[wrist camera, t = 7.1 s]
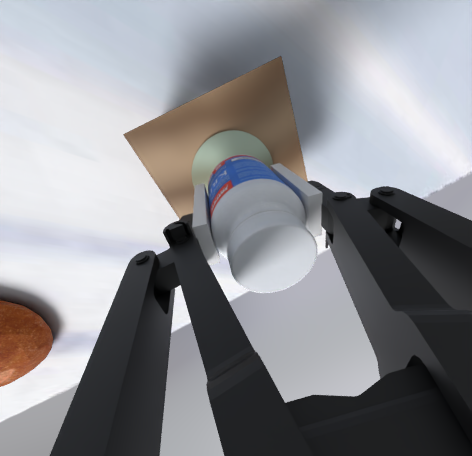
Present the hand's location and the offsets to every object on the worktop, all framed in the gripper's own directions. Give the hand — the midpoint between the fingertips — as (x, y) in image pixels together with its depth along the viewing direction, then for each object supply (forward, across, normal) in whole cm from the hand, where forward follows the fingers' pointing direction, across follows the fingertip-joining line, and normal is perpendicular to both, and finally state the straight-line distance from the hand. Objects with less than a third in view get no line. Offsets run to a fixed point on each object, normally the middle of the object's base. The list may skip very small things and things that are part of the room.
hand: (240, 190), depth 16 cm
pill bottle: (+1, 0, 0) cm, 1 cm away
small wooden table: (+13, 0, 0) cm, 13 cm away
